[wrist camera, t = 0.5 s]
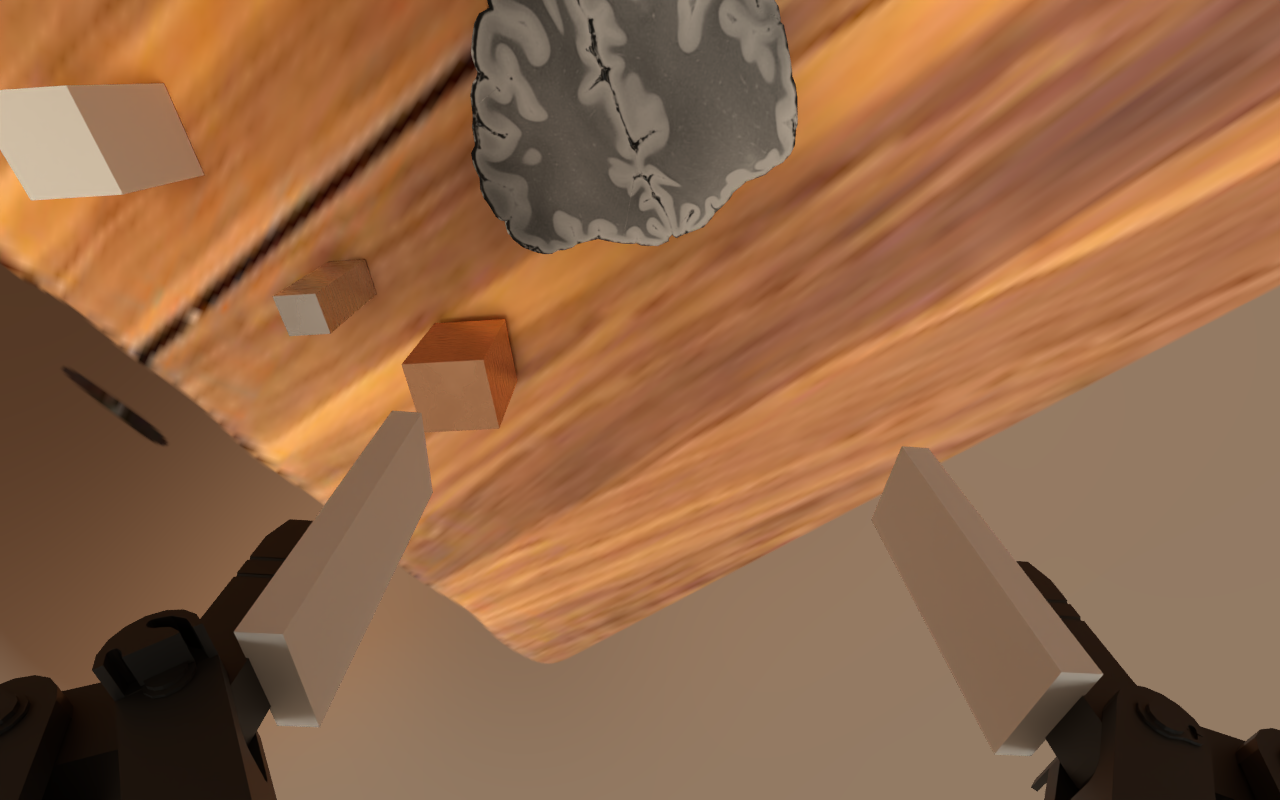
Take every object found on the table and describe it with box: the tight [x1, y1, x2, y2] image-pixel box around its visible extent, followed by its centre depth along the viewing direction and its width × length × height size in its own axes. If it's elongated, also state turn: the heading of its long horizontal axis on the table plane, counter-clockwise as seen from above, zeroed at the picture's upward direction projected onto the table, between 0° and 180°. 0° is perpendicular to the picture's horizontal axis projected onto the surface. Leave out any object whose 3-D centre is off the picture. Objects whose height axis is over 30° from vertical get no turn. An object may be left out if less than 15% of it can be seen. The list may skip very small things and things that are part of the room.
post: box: [273, 259, 376, 336], centre depth 36 cm, size 3×3×7 cm
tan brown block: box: [402, 319, 517, 432], centre depth 39 cm, size 5×5×8 cm
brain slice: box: [471, 0, 797, 254], centre depth 33 cm, size 20×17×3 cm
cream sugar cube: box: [0, 83, 204, 200], centre depth 32 cm, size 5×5×7 cm
